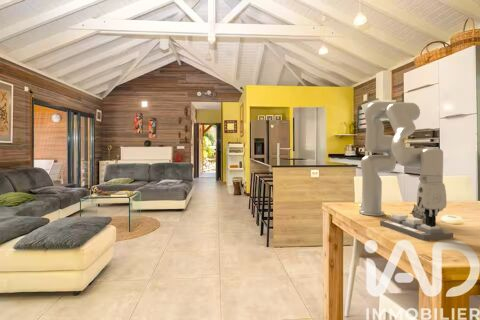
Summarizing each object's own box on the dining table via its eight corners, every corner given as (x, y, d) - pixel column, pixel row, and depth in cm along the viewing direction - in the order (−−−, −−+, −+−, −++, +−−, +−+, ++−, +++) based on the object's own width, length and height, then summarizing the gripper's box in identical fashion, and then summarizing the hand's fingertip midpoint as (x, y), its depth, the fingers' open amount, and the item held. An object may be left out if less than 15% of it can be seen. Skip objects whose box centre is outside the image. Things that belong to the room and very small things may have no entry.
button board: (380, 224, 135) (380, 217, 135) (405, 223, 138) (406, 215, 138) (423, 240, 112) (423, 231, 112) (453, 238, 115) (453, 229, 115)
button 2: (420, 229, 119) (420, 224, 119) (429, 228, 120) (429, 223, 120) (430, 232, 114) (430, 227, 114) (439, 231, 115) (439, 226, 115)
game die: (422, 228, 144) (433, 211, 145) (426, 225, 136) (438, 208, 137) (404, 217, 148) (414, 201, 148) (407, 214, 140) (418, 197, 141)
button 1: (392, 218, 134) (392, 213, 134) (400, 217, 135) (400, 213, 135) (399, 220, 130) (399, 216, 130) (407, 220, 131) (407, 215, 131)
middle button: (405, 222, 126) (405, 217, 126) (414, 221, 127) (414, 217, 127) (413, 225, 122) (413, 220, 122) (422, 224, 123) (422, 219, 123)
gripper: (423, 181, 111) (422, 229, 111) (455, 180, 114) (454, 227, 115) (407, 179, 118) (407, 224, 119) (438, 178, 122) (437, 222, 122)
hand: (430, 225), depth 117 cm, fingers closed
